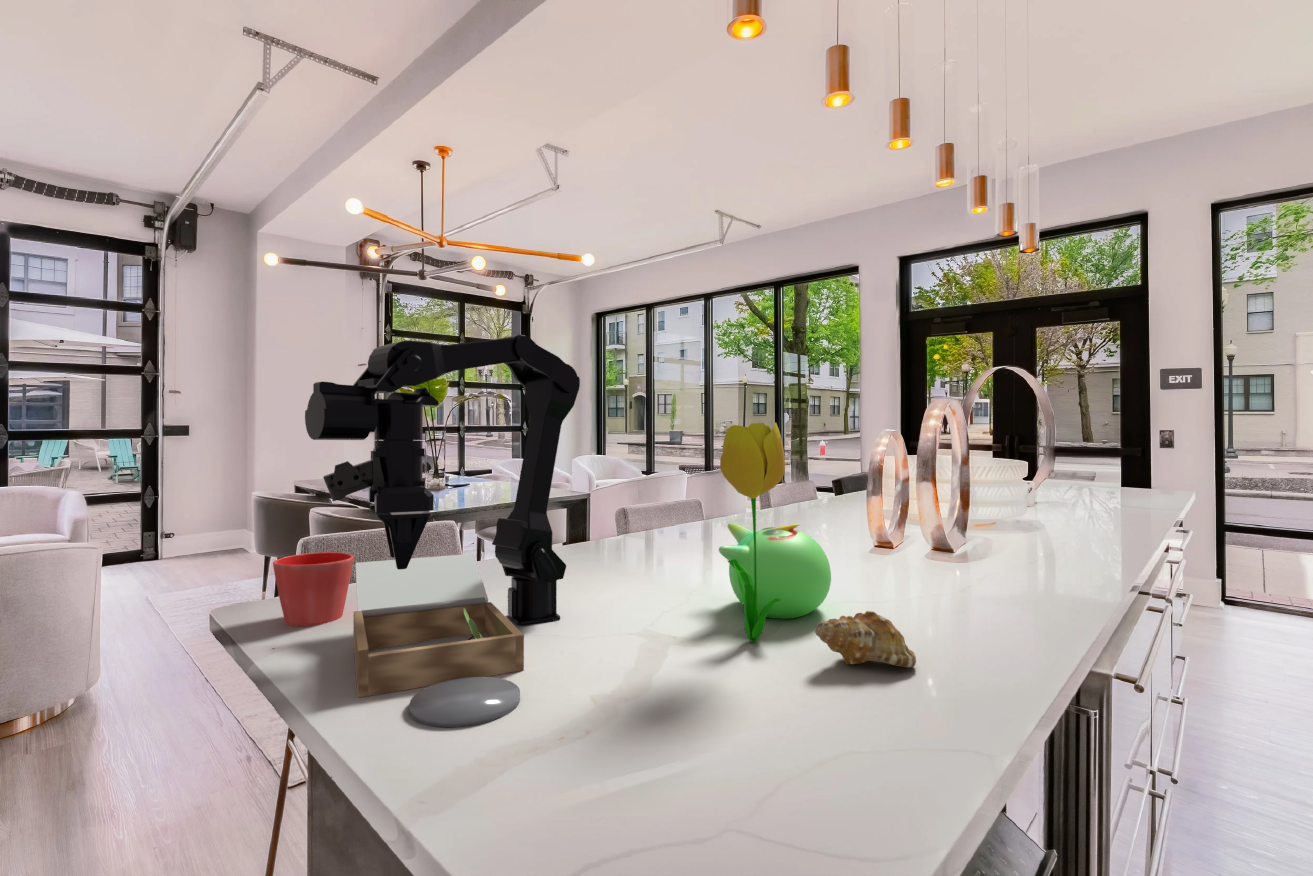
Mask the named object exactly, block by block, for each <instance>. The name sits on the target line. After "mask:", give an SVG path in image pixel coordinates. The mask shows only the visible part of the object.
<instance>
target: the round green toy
mask: <svg viewBox="0 0 1313 876" xmlns="http://www.w3.org/2000/svg"><path fill="white" fill-rule="evenodd" d="M800 525H801V524H800V523H792V524H786V525H782V526H781V525H780V526H777V527H776V526H774V527H773V526H771V527H765V528H762V529H760V530H756V571H757V605H758V609H759V612H760V613H761V611H762V609H763V608H764V606H766V605H767V604H768V603H770V602H771V601H772V600H774V599H775V598H776V599H777V598H778V599H780V601H778V602H775V603H774V604H773V606H772V607H771V608H770V610H769V612H768V614H767V617H766V618H769V619H777V620H778V619H779V620H784V619H785V620H788V619H796V618H800V617H803V616H806V615H808V614H810V613H811V612H813V611H815V610H816V609H817V608H819V607H820V606H821V605H822V603H824V601H825V599H826V598H827V596H828V594H829V592H830V588H831V583H832V572H831V565H830V562H829V561H830V560H829V559H828V557H827V554H826V552H825V551H824V549H823V547H822V546H821V544H819V542H817V541H816V539H814V538H813V537H812V536H810V535H808V534H806V533H805V532H802V531H800V530H797V529H796V528H797V527H799V526H800ZM727 528H728V530H729V532H730V534H731V535H732V536H733V537H734V539H735V540H736V542H737V544H735V545H734V544H723V545H720V546H719V547H718V552H719V554H721V556H723V557H724V559H726V560H727V561H729V560H735V559H736V560H737V561H738V562H739V563H740V564H741V565H742V566H743V567H744V569H745V570H746V571H747V572H748V574H749V575H750V576H751V579H752V582H753V585H754V535H753V530H750V529H748V528H746V527H744V526H742V525H739V524H737V523H734V522H729V523H727ZM728 569H729V570H728V575H729V582H730V585H731V588H732V591H733V593H734V595H735V596H736V598H737V599H738V601H739V602H740V604H742V605H743V606H744V600H743V596H742V592H741V589H740V586H739V582H738V576H737V573H736V570H735V568H734V567H733V566H732V565H731V564H730V563H728Z"/></svg>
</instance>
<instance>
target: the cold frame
mask: <svg viewBox="0 0 1313 876" xmlns="http://www.w3.org/2000/svg"><path fill="white" fill-rule="evenodd" d="M464 608H465V610H466V611H467V614H468V616H469V618H470V619H472V620H473V621H474V623H475V624H476V626H477V628H478V631H479V633H484V632H485V633H486V635H487V637H484V638H480V639H476V638H475V639H473V638H472V639H471V640H468V639H467V640H461V641H460V640H459V641H452V642H445V643H439V644H431V645H430V644H429V645H423V646H418V647H408V648H402V649H401V648H400V649H395V650H394V649H393V650H389V651H381V652H373V653H369V650H375V649H381V648H387V647H395V646H401V645H408V644H414V643H420V642H426V641H427V642H428V641H433V640H439V639H445V638H451V637H452V638H453V637H459V636H465V635H473V634H472V632H471V629H470V627H469V625H468V622H467V620H466V617H465V614H464ZM352 629H353V631H352V632H353V634H352V635H353V640H352V641H353V659H354V660H353V661H354V670H355V680H356V690H357V698H364V697H369V696H374V695H376V696H377V695H381V694H387V693H394V692H399V691H400V692H401V691H406V690H412V689H418V688H419V689H420V688H423V687H429V686H432V685H435V684H437V683H441V682H444V681H449V680H453V679H459V678H468V677H491V676H497V675H502V674H508V673H515V672H521V671H525V640H524V639H525V635H524V634H523V632H522V631H520V630H519V628H518V627H516V626H515V624H513V623H512V622H511V620H510V619H509V618H508V617H506V616H505V615H504V613H502V612H501V611H500V610H499V609H498V608H497V607H496V605H494V604H493V603H492V602H491V601H490V602H489V601H488V603H485V604H479V605H471V606H462V607H453V608H444V609H436V610H427V611H418V612H409V613H400V614H392V615H383V616H374V617H365V618H363V614H362V611H357V610H356V611H353V628H352Z"/></svg>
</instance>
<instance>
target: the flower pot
mask: <svg viewBox="0 0 1313 876" xmlns="http://www.w3.org/2000/svg"><path fill="white" fill-rule="evenodd" d="M353 562H354V556H353V554H350V553H346V552H340V551H337V552H335V551H334V552H333V551H325V552H323V551H322V552H309V553H308V552H307V553H301V554H293V555H289V556H284V557H280V558H277V559H276V560H273V562H272V567H273V572H274V578H275V582H276V587H277V592H278V593H277V594H278V597H279V602H280V606H281V610H282V615H283V620H284V622H285V625H287V626H289V627H311V626H312V627H314V626H320V625H324V623H325V624H329V623H332V622H334V621H337V620H339V619H340V618H342V617H343V615H344V612H345V606H346V601H347V600H346V599H347V595H348V590H349V586H350V585H349V584H350V581H351V580H350V579H351V574H352V568H353V564H354V563H353ZM328 622H329V623H328ZM313 625H314V626H313Z"/></svg>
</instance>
